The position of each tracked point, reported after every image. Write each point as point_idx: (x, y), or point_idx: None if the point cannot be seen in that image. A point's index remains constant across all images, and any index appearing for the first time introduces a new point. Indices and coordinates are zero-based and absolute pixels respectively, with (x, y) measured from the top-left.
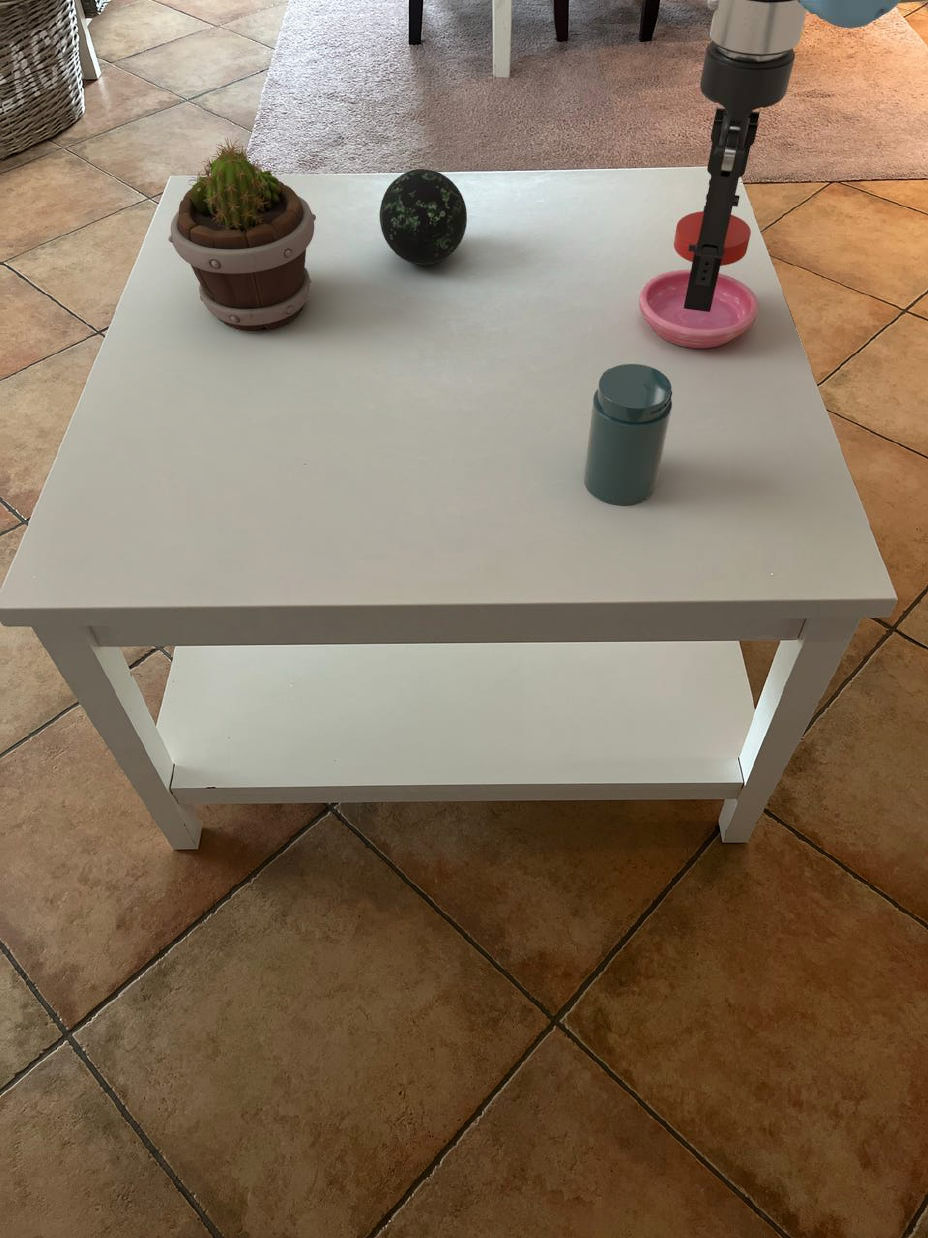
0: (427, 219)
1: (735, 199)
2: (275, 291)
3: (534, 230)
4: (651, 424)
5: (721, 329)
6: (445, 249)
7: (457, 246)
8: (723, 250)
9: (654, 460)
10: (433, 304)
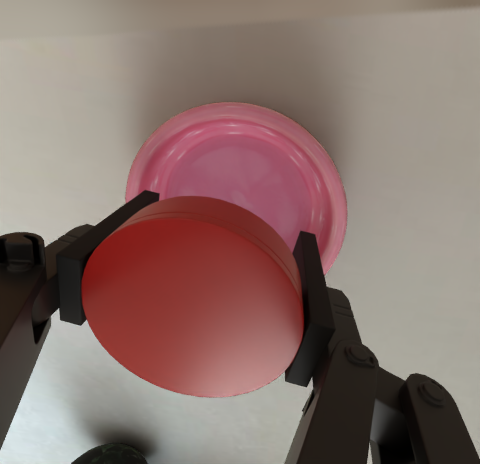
0: None
1: (18, 253)
2: None
3: (38, 361)
4: None
5: (341, 203)
6: None
7: (124, 457)
8: (444, 403)
9: None
10: (208, 454)
